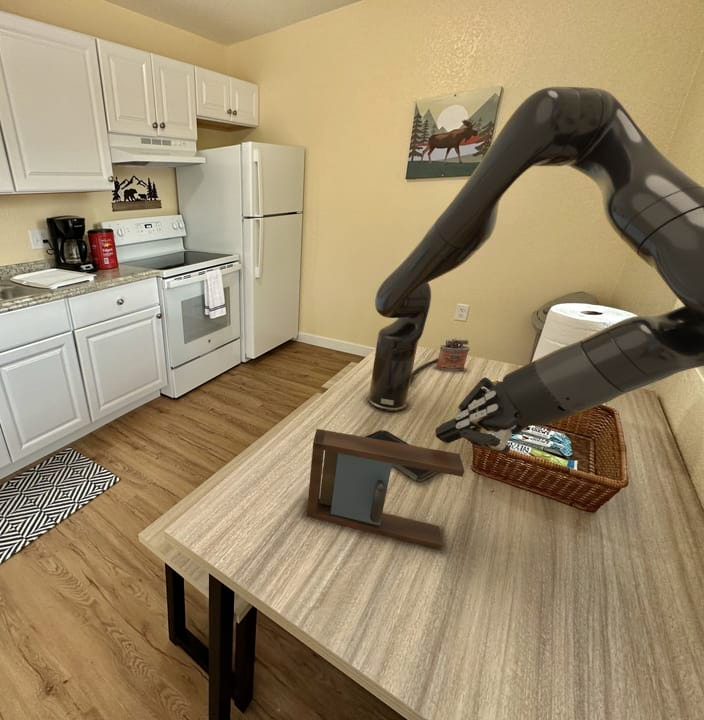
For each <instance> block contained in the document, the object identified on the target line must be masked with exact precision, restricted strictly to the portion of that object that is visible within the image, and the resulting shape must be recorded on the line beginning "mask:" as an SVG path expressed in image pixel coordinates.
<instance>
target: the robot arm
mask: <svg viewBox="0 0 704 720" xmlns="http://www.w3.org/2000/svg"><path fill="white" fill-rule="evenodd" d="M565 166H567V167H570V168H572V169H573V170H576V171H578V172H579V173H581V174H583V175H585V176H586V177H588V178H589V179H591V180H592V181H593V182H594V183H595V184H596V185H597V187H598V188H599V190H600V194H601V198H602V206H603V212H604V215H605V219H606V220H607V223H608V224H609V226H610V227H611V229H612V230H613V231H614V232H615V233H616V235H617V236H618V237H619V238H620V239H621V240H622V241H623V242H624V243H625V244H626V245H627V246H628V247H629V248H630V249H631V250H632V251H633V252H634V253H635V254H636V255H637V257H639V258H640V259H641V260H642V261H644V262H645V264H647V265H648V266H650V268H653V269H654V270H655V271H656V272H657V274H658V275H659V276H660V278H661V279H662V281H663V282H664V283H665V284H666V286H667V288H669V290H670V291H671V292H672V294H674V296H675V297H676V298H677V299H678V301H680V303H681V304H682V305H683V306H680V307H678V308H675V309H673V310H670V311H667V312H665V313H661V314H659V315H635V316H631V317H628V318H625V319H623V320H620V321H617V322H616V323H614V324H611V325H609V326H608V327H605V328H603V329H601V330H599V331H596V332H595V333H593V334H591V335H589V336H587V337H584V338H582V339H580V340H579V341H578V340H577V341H576V342H573V343H571V344H568V345H565V346H562V347H560V348H557V349H555V350H553V351H551V352H549V353H548V354H545V355H543V356H541V357H539V358H537V359H534V360H533V361H531V362H529V363H527V364H525V365H524V366H521V367H519V368H516V369H515V370H513V371H511V372H509V373H506V375H504V376H503V378H502V381H499V382H497V383H495V382H493V381H492V380H490V379H489V378H488V377H482V378H481V379H480V380H479V381H478V383H477V384H476V385H475V386H473V387H474V388H472V390H471V391H470V392H469V393H468V394H467V395H466V396H465V398H464V399H463V400H462V401H461V402H460V403H459V405H458V409H459V413H457V414H456V415H455V416H454V418H452V419H450V420H448V421H445V422H443V423H441V424H440V425H439V426H437V427H435V437H436V438H437V439H438V440H440V441H441V442H442V443H446V444H451V443H453V442H456V441H458V440H461V439H465V440H466V441H468V442H469V443H470V444H472V445H473V446H475V447H478V448H482V449H486V450H489V451H493V452H496V453H500V454H507V453H509V452H510V450H511V447H510V445H509V444H507V443H508V442H509V440H510V438H511V437H512V435H513V436H514V435H517V434H519V433H521V432H522V431H523V430H525V429H526V428H528V427H531V426H536V427H544V426H547V425H550V424H553V423H556V422H558V421H561V420H564V419H566V418H569V417H572V416H575V415H578V414H580V413H582V412H585V411H588V410H591V409H595V408H597V407H599V406H602V405H604V404H606V403H608V402H611V401H613V400H614V399H616V398H618V397H620V396H622V395H625V394H628V393H630V392H632V391H635V390H638V389H641V388H643V387H646V386H649V385H652V384H654V383H656V382H660V381H662V380H665V379H667V378H669V377H671V376H674V375H675V374H678V373H681V372H685V371H688V370H693V369H697V368H701V367H704V186H703V185H701V184H699V183H698V182H697V181H696V180H694V179H693V178H691V177H690V176H689V175H687V174H686V173H685V172H684V171H682V170H681V169H680V168H678V167H677V166H676V165H675V164H673V162H671V160H669V159H668V158H667V157H666V156H665V155H664V154H663V152H661V151H660V150H659V149H658V148H657V147H656V146H655V144H654V143H653V142H652V141H651V140H650V139H649V137H648V136H647V135H646V134H645V133H644V132H643V130H642V129H641V128H640V127H639V126H638V125H637V123H636V122H635V120H634V119H633V118H632V116H631V115H630V114H629V112H628V111H627V109H626V108H625V107H624V105H623V104H622V103H621V102H620V101H619V100H618V99H617V98H616V97H615V95H613V94H612V92H609V91H608V90H606V89H603V88H596V87H583V86H549V87H544V88H541V89H539V90H536V91H535V92H533V93H532V94H530V95H529V96H527V98H525V99H524V100H523V101H522V102H521V103H520V104H519V106H518V107H516V109H515V110H514V112H513V113H512V114H511V116H510V117H509V118H508V119H507V121H506V122H505V124H503V127H502V128H501V130H500V131H499V133H498V134H497V136H496V137H495V139H494V141H493V142H492V143H491V145H490V146H489V148H488V149H487V151H486V152H485V154H484V155H483V157H482V159H481V160H480V162H479V163H478V165H477V167H476V168H475V170H474V171H473V173H471V175H470V177H468V179H467V180H466V182H465V183H464V185H463V186H462V187H461V189H460V190H459V192H458V193H457V194H456V195H455V197H454V198H453V199H452V201H451V202H450V203H449V204H448V206H447V207H446V208H445V209H444V211H442V213H441V214H440V215H439V216H438V218H437V219H436V220H435V222H433V224H432V225H431V226H430V228H429V229H428V230H427V232H426V233H425V234H424V236H423V237H422V238H421V240H420V241H419V242H418V243H417V245H415V247H414V248H413V249H412V250H411V252H410V253H409V254H408V255H407V257H406V258H405V259H404V260H403V261H402V262H401V263H400V264H399V266H397V267H396V268H395V269H394V270H393V271H392V272H391V273H390V274H389V275H388V276H387V277H386V278H385V279H384V280H383V282H382V283H381V284H380V285H379V287H378V289H377V291H376V294H375V298H374V307H375V310H376V312H377V313H378V314H379V315H380V316H382V317H383V318H387V319H395V321H393V322H392V323H390V324H388V325H386V326H384V327H382V328H381V329H380V330H379V331H378V333H377V340H376V346H375V353H374V360H373V367H372V372H371V373H372V374H371V379H370V386H369V393H368V395H367V396H368V397H367V402H368V403H369V405H371V406H372V407H373V408H376V409H378V410H381V411H385V412H399V411H403V410H405V408H406V406H407V400H408V394H409V389H410V385H411V383H412V381H413V379H414V376H415V375H416V374H418V373H419V372H420V371H422V370H424V369H425V368H427V367H429V366H431V365H433V364H435V363H436V364H437V363H438V358H439V357H437V358H436V359H433V360H430V361H429V362H426V363H425V364H423V365H421V366H419V367H417V368H416V369H415V370H414V365H415V360H416V354H417V349H418V345H419V340H420V339H421V338H422V336H423V333H424V330H425V326H426V323H427V318H428V315H429V312H430V307H431V302H432V289H431V285H430V284H429V283H430V282H432V281H434V280H436V279H438V278H440V277H442V276H444V275H447V274H448V273H451V272H453V271H454V270H456V269H457V268H459V267H461V266H462V265H464V264H465V263H467V261H468V260H470V259H471V258H472V257H473V256H474V255H475V254H476V253H477V252H478V251H479V250H480V249H481V248H482V247H483V246H484V245H485V244H486V243H487V242H488V240H489V239H490V238H491V236H492V234H493V233H494V230H495V228H496V224H497V220H498V211H499V205H500V201H501V200H502V198H503V196H504V195H505V194H506V192H507V191H508V190H509V189H510V187H512V185H513V184H514V183H515V182H516V181H517V180H518V179H519V178H520V177H521V176H522V175H523V174H525V172H527V171H528V170H530V169H531V168H533V167H565Z"/></svg>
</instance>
